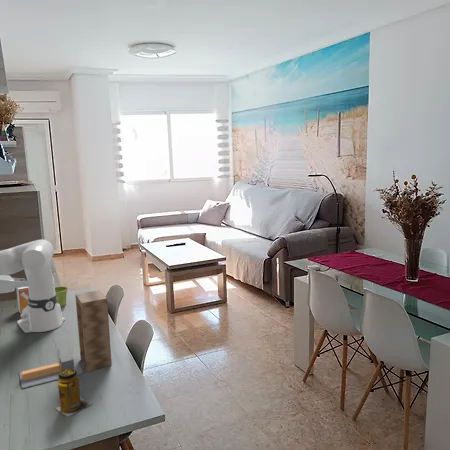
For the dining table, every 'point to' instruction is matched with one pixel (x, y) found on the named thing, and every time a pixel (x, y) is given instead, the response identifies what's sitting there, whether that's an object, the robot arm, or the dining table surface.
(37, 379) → the grey mat
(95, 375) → the dining table surface
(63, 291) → the plant pot
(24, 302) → the small box
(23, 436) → the dining table surface
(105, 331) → the walnut shelf
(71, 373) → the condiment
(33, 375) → the hammer with orange handle
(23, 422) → the dining table surface
